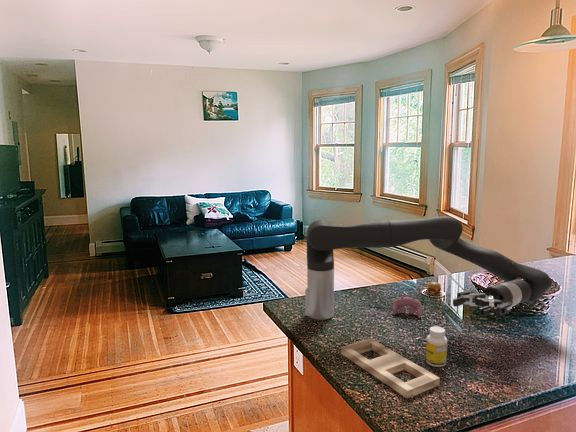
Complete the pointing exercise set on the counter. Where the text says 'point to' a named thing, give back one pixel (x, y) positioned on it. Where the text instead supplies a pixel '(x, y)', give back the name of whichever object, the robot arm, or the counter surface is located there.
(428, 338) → the supplement bottle
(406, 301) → the pink arch block
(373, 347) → the socket rail
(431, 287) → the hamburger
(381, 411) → the counter surface
